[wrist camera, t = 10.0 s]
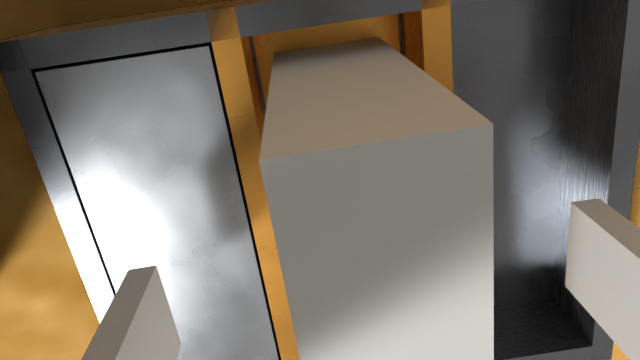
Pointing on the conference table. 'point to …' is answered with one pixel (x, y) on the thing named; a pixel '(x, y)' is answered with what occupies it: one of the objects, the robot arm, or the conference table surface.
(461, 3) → the rack
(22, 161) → the conference table surface
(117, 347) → the robot arm
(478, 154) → the white rectangular block
